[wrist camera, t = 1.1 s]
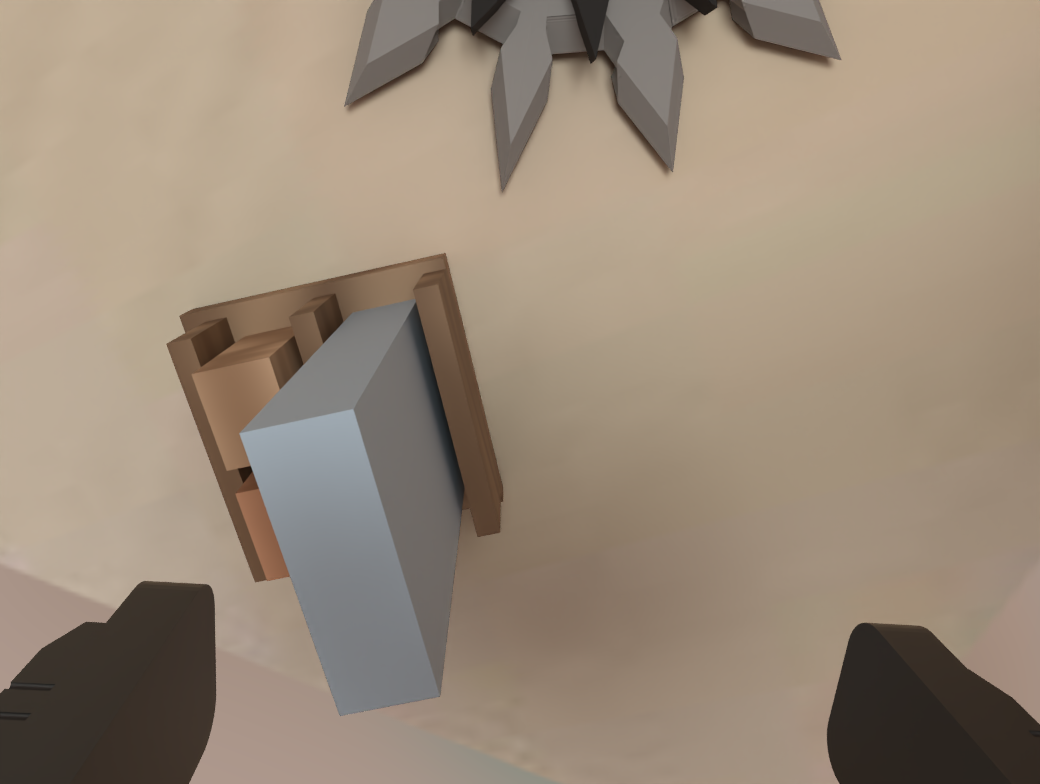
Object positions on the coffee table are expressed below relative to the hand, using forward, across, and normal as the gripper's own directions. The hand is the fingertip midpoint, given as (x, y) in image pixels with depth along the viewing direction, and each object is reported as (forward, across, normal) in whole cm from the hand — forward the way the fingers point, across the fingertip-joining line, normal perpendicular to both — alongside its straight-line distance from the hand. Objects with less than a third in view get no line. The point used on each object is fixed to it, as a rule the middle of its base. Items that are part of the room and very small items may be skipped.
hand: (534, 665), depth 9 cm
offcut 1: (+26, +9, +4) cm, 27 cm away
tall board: (+25, +3, +4) cm, 26 cm away
